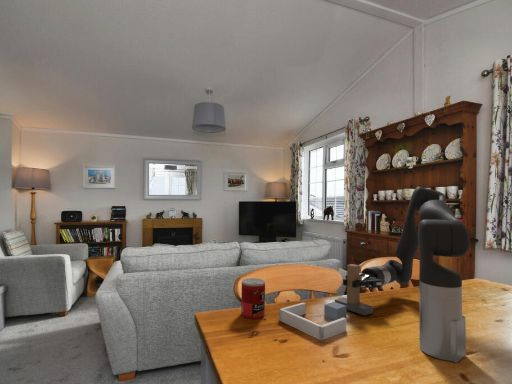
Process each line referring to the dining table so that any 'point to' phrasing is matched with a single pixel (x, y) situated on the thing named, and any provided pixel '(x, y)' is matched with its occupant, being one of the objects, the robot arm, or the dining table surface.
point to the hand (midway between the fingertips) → (348, 283)
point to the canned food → (253, 298)
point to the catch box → (310, 322)
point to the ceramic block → (335, 311)
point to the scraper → (354, 293)
